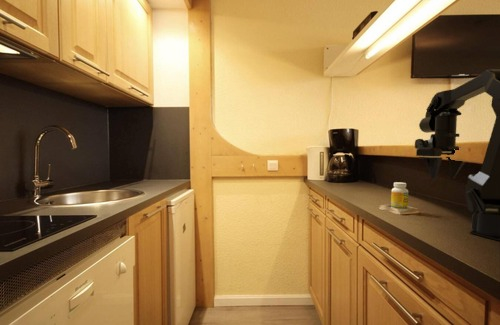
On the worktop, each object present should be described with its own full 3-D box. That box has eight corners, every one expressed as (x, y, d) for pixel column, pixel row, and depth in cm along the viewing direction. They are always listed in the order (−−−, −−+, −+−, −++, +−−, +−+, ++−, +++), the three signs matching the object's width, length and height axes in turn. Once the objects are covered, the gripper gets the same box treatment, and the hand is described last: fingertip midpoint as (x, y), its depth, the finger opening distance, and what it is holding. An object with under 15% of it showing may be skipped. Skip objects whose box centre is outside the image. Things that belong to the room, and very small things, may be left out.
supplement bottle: (393, 206, 100) (394, 181, 99) (409, 209, 96) (410, 183, 95) (388, 208, 96) (389, 182, 96) (405, 211, 92) (406, 184, 92)
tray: (419, 212, 93) (419, 208, 93) (400, 214, 90) (400, 210, 90) (397, 207, 102) (397, 203, 102) (379, 209, 99) (379, 205, 99)
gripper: (440, 132, 97) (438, 174, 98) (402, 131, 91) (400, 176, 92) (474, 131, 87) (472, 178, 88) (434, 129, 81) (432, 180, 81)
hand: (443, 178), depth 87 cm, fingers open, 9 cm apart
